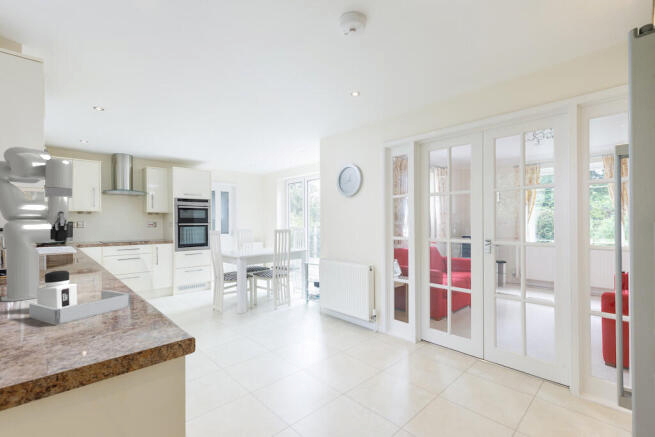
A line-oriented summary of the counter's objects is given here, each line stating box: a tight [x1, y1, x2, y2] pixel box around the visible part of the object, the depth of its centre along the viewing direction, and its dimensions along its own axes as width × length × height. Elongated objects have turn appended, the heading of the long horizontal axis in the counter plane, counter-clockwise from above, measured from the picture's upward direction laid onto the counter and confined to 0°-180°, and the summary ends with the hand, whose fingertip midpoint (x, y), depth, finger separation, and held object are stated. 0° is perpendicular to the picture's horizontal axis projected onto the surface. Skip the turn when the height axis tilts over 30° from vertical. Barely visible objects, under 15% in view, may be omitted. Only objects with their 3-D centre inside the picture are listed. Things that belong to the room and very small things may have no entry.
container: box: [36, 270, 78, 309], centre depth 109 cm, size 8×8×13 cm
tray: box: [28, 289, 132, 326], centre depth 105 cm, size 17×22×4 cm
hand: (58, 240), depth 113 cm, fingers open, 9 cm apart
